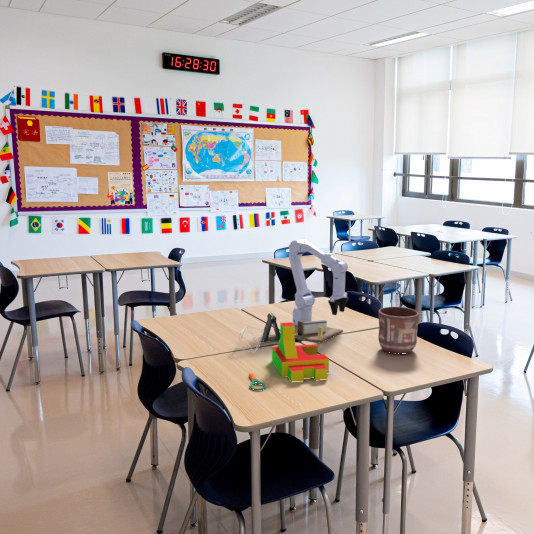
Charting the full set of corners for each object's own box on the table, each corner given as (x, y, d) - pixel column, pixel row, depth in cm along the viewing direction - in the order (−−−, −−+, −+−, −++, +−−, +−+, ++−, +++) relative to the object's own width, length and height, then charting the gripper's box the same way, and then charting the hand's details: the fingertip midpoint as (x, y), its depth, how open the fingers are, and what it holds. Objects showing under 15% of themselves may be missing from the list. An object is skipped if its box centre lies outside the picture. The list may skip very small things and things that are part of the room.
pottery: (368, 350, 253) (370, 311, 249) (390, 341, 265) (392, 304, 261) (403, 360, 240) (405, 319, 237) (424, 350, 253) (427, 311, 249)
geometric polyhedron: (266, 352, 251) (266, 332, 249) (242, 354, 247) (242, 334, 246) (257, 343, 262) (257, 324, 261) (234, 346, 259) (234, 326, 258)
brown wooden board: (293, 337, 271) (293, 322, 270) (316, 327, 289) (316, 312, 288) (320, 343, 263) (321, 327, 261) (342, 331, 281) (343, 317, 279)
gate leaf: (304, 334, 272) (304, 323, 271) (302, 333, 274) (302, 322, 273) (326, 331, 276) (326, 320, 275) (324, 330, 278) (325, 320, 277)
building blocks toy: (285, 384, 215) (285, 337, 211) (272, 362, 239) (272, 319, 236) (333, 380, 218) (334, 334, 215) (315, 359, 242) (316, 317, 239)
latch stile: (318, 340, 264) (318, 326, 263) (319, 339, 265) (319, 326, 264) (321, 340, 263) (321, 327, 262) (322, 340, 264) (322, 326, 263)
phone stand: (279, 336, 273) (279, 312, 270) (282, 340, 267) (282, 315, 265) (261, 338, 271) (261, 313, 269) (263, 341, 265) (263, 316, 263)
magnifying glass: (268, 391, 208) (268, 386, 208) (251, 392, 207) (251, 388, 206) (258, 376, 223) (258, 372, 222) (243, 377, 221) (243, 373, 221)
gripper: (339, 289, 269) (338, 317, 271) (353, 284, 280) (352, 311, 283) (326, 287, 273) (325, 315, 275) (340, 282, 284) (339, 309, 287)
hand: (338, 313), depth 279 cm, fingers open, 7 cm apart
